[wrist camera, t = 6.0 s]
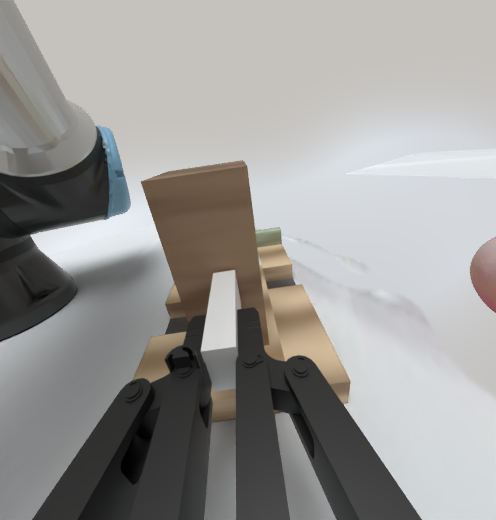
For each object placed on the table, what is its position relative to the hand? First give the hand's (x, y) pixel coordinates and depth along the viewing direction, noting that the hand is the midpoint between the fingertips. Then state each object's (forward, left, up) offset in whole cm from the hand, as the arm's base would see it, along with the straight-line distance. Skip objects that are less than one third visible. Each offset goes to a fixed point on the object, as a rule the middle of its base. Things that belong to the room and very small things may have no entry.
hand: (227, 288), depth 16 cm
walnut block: (-3, +1, -6) cm, 7 cm away
